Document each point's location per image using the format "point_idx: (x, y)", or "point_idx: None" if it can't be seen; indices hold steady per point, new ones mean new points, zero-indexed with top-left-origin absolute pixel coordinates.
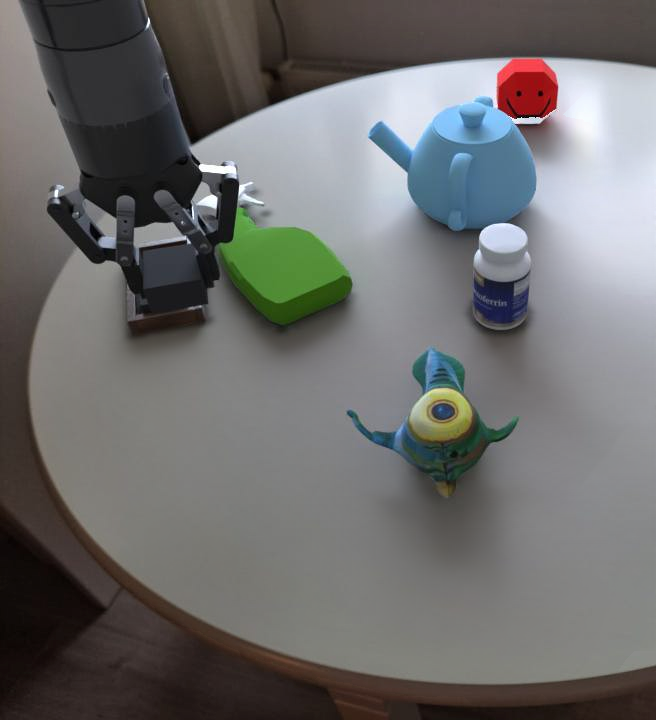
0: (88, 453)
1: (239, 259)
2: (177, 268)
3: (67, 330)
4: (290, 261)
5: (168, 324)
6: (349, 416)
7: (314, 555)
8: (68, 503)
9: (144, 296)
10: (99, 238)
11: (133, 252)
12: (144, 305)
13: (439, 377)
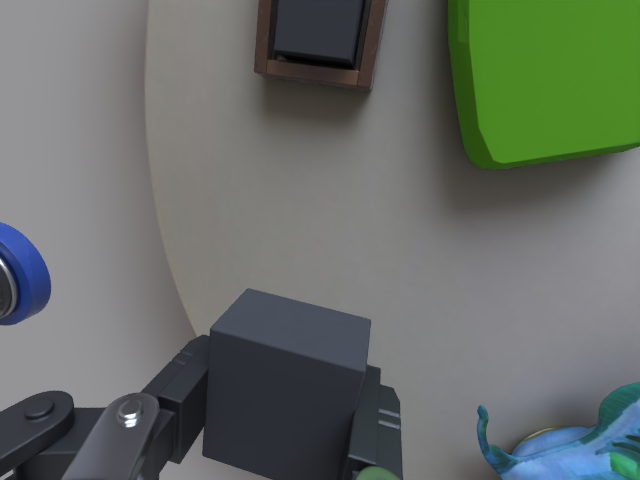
0: (203, 263)
1: None
2: (286, 438)
3: (178, 21)
4: (585, 29)
5: (315, 83)
6: (478, 413)
7: None
8: (186, 311)
9: None
10: (28, 466)
11: (156, 469)
12: (281, 50)
13: (633, 442)
